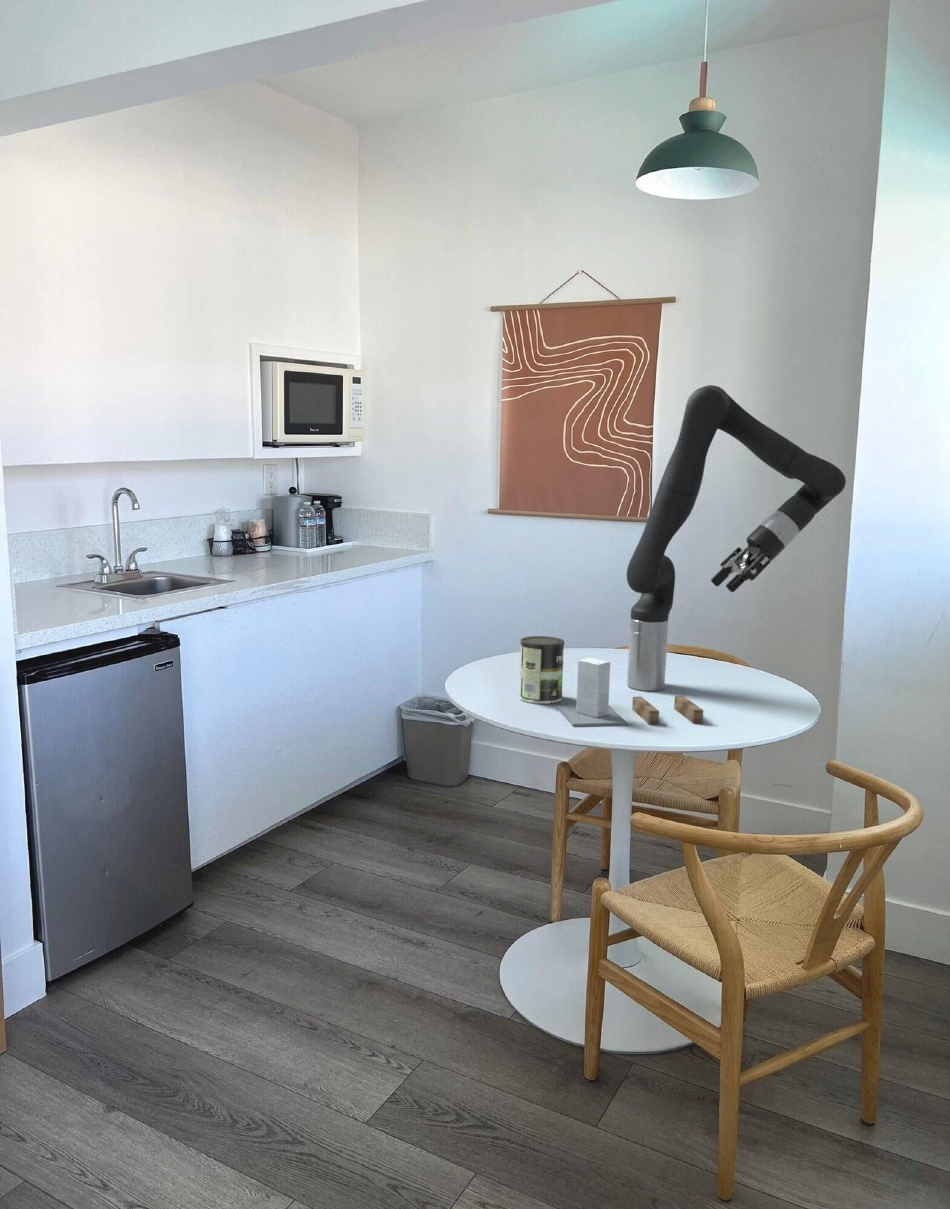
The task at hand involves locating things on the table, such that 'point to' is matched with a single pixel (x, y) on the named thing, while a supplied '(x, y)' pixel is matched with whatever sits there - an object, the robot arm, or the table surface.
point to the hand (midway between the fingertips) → (721, 586)
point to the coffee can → (541, 669)
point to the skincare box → (593, 687)
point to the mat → (591, 717)
